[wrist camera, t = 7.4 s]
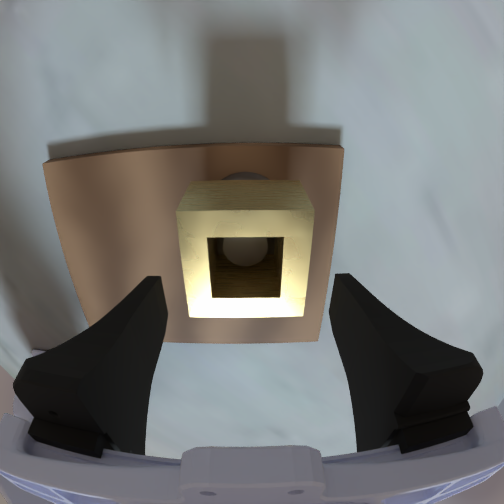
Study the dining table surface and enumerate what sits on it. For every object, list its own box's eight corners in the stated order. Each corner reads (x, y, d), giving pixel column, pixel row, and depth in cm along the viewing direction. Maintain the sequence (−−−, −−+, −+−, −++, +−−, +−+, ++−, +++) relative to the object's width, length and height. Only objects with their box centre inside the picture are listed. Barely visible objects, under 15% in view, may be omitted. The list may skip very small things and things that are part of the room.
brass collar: (198, 272, 19) (189, 317, 16) (190, 181, 16) (175, 211, 13) (293, 271, 19) (303, 316, 16) (299, 180, 16) (314, 210, 13)
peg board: (97, 329, 27) (75, 378, 22) (49, 159, 19) (-1, 189, 14) (316, 333, 27) (328, 387, 22) (339, 145, 19) (373, 171, 14)
